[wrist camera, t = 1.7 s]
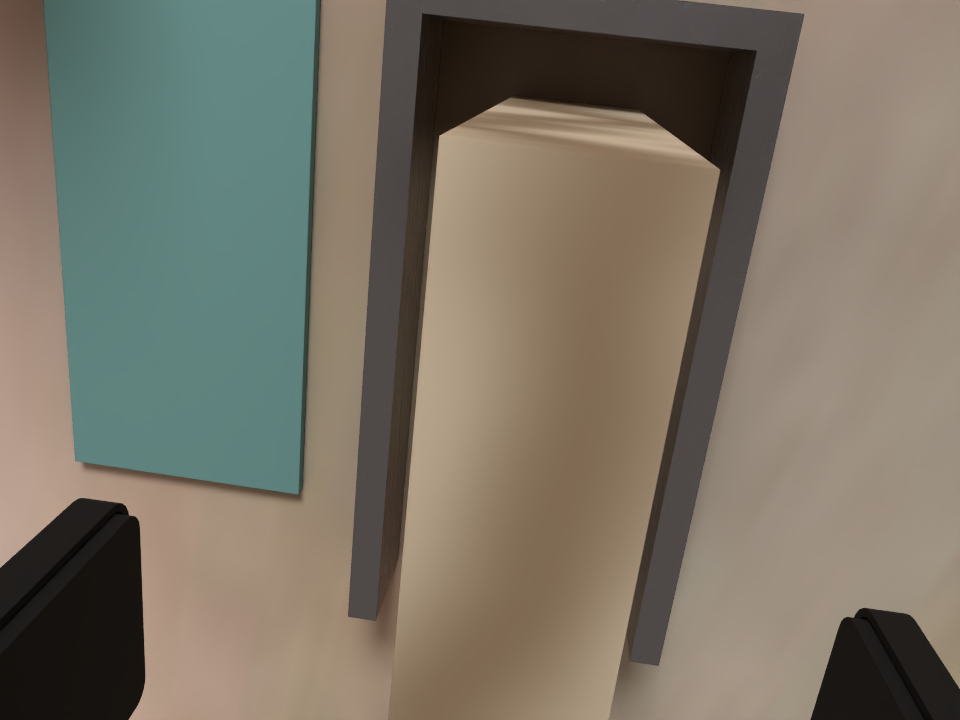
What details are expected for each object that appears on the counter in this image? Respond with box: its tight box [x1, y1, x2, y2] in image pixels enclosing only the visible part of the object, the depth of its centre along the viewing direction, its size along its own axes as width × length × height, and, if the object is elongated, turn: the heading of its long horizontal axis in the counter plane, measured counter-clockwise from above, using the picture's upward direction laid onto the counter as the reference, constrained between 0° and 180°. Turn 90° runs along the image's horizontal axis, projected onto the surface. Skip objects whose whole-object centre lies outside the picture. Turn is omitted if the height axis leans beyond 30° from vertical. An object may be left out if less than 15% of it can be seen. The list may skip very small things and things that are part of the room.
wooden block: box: [388, 95, 720, 720], centre depth 21 cm, size 4×12×16 cm, turn 174°
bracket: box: [348, 0, 804, 666], centre depth 27 cm, size 11×21×4 cm, turn 174°
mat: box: [43, 0, 321, 494], centre depth 30 cm, size 9×18×1 cm, turn 174°
